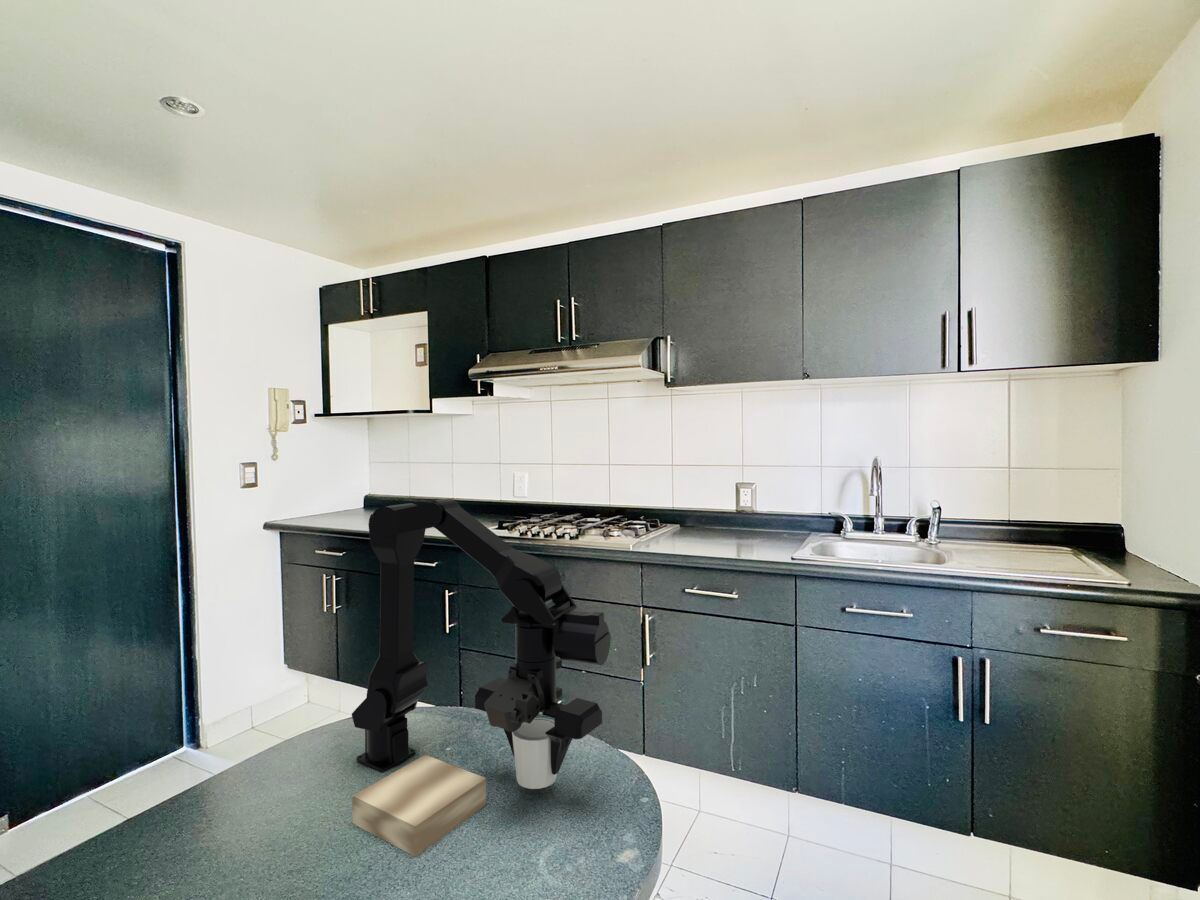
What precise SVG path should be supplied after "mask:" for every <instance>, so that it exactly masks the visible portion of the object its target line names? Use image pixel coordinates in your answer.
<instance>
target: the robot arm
mask: <svg viewBox="0 0 1200 900" xmlns="http://www.w3.org/2000/svg"><path fill="white" fill-rule="evenodd" d="M433 528H434V529H435V530H437V531H438V532H440V533H441V534H442V535H443V536H445V537H446V538H447V539H448V540H449V541H451V542H452V543H453V544H454V545H456V546H457V547H458V548H459V549H461V550H462V551H463V552H465V554H467V555H468V556H469V557H471V559H473V560H474V561H475V562H477V563H478V564H480V566H482V567H483V568H484V569H485V570H487V572H489V573H490V574H491V575H492V577H493V578H494V579H495V581H496V584H497V587H498V589H499V591H500V592H501V593H502V594H503V596H504V597H505V598H506V599H507V600H508V601H509V602H510V604H512V606H511V608H510V609H509V610H508V612H507V613H506V614H505V615H504V616H503V617H501V618H500V621H501V623H503V624H510V625H514V626H515V631H514V632H515V634H514V635H515V663H513V664H510V665H509V669H508V670H507V672H508V675H507V678H503V677H497V678H496V679H493V680H491V681H489V682H488V683H485V684H483V685H481V686H479V687H478V689H477V691H476V692H475V694H474V709H476V710H479V711H482V712H486V716H487V719H488V722H489V725H490V726H491V727H493V728H494V727H497V728H500V729H503V731H504V733H505V735H506V736H505V737H506V738H507V741H508V744H509V746H510V747H509V748H510V749H511V753H512V755H513V757H514V748H513V737H512V732H514V731H516V730H518V729H519V728H520V727H521V724H522V723H523V722H525V723H529V724H530V723H531V722H532V721H533V720H534V719H535V718H537V716H538V715H542V716H545V717H549V718H551V719H552V718H553V720H554V727H553V728H551V729H550V730H548V731H547V732H545V734H546V735H547V736H548V737H549V738H550V740H551V769H552V774H554V775H555V774H556V773H557V774H558V773H559V771H560V769H561V767H562V764H563V762H564V761H565V757H566V754H567V752H568V751H569V748H570V745H571V743H572V741H573V740H581V739H583V738H584V737H586V736H587V735H589V734H590V733H591V732H592V731H593V730H595V729H597V727H599V726H601V725H602V724H603V711H602V710H603V709H602V707H601V705H600V704H599V703H598V702H595V701H590V700H586V699H582V698H579V697H576V698H574V699H572V700H571V701H569V702H568V703H566V704H563V703H559V702H557V699H559V698H561V697H562V696H563V688H562V687H557V685H558V684H557V670H558V669H560V668H562V667H563V661H564V662H572V663H578V664H585V665H586V664H587V665H593V666H604V665H605V663H606V661H607V659H608V656H609V653H610V648H611V636H612V635H611V632H610V629H609V626H608V623H607V622H606V621H605V614H604V612H603V611H590V612H589V611H579V610H577V604H576V603H575V602H574V600H573V599H572V597H571V596H570V594H569V592H568V591H567V589H566V588H565V586H564V584H563V583H562V579H561V573H560V571H559V570H558V569H557V567H555V566H553V564H550V563H548V562H546V561H545V560H543V559H542V558H539V557H537V556H535V555H531V554H529V553H526V552H522V551H520V550H517V549H516V548H514V547H513V546H512V545H510V544H509V543H507V542H506V541H505V540H504V539H502V538H501V537H500V536H498V534H495V532H494V531H492V530H491V529H489V527H487V526H486V525H484V524H483V523H482V522H481V521H479V520H478V519H477V518H475V517H474V516H473V515H472V514H471V513H469V512H467V511H466V510H465V509H464V508H463V507H461V504H460V503H459V502H458V501H456V500H454V498H453V499H452V498H444V499H437V500H436V499H435V500H432V501H429V502H428V503H424V504H423V503H422V504H419V505H417V504H415V503H412V502H409V503H400V504H393V505H388V506H387V505H386V506H385V505H384V506H379V507H378V508H377V509H375V510H374V512H373V513H371V514H370V516H369V518H368V532H369V540H370V541H369V542H370V547H371V550H372V551H373V552H374V554H375V556H376V557H377V560H378V561H379V563H380V591H379V592H380V595H379V597H380V599H379V601H380V602H379V603H380V604H379V655H378V658H377V660H376V662H375V664H374V666H373V668H372V670H371V672H370V674H369V676H368V677H369V678H368V684H367V690H366V691H367V692H366V697H365V699H363V701H362V702H361V703H360V704H359V705H358V706H357V707H356V708H355V710H353V712H351V718H352V721H353V725H354V727H355V728H356V729H362V730H364V749H365V750H364V751H365V752H363V753H361V754H359V755H358V756H356V762H358V763H361V764H363V765H366V766H369V767H371V768H373V769H375V770H376V771H379V772H385V771H387V770H388V769H390V768H392V767H394V766H396V765H398V764H400V763H401V762H403V761H405V760H406V759H409V758H411V757H412V756H414V755H415V754H416V753H417V752H416V750H417V749H415V748H412V747H409V739H410V738H409V729H408V718H407V717H406V714H408V713H411V711H414V710H415V709H416V708H417V705H418V701H419V700H420V699H421V698H422V697H423V695H424V692H425V688H427V687H428V686H429V685H428V682H427V670H428V664H427V662H426V661H420V660H419V659H418V657H417V655H416V654H415V652H414V609H415V608H414V603H415V601H414V600H415V599H414V598H415V597H414V596H415V594H414V593H415V591H414V590H415V560H416V558H417V557H418V554H419V552H420V550H421V548H422V546H423V544H424V541H425V534H426V530H427V529H433ZM551 602H552V603H553V605H551V607H548V606H547V604H549V603H551ZM557 657H558V658H557Z"/></svg>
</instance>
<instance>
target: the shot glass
mask: <svg viewBox="0 0 1200 900" xmlns="http://www.w3.org/2000/svg"><path fill="white" fill-rule="evenodd" d="M553 727H554V719H552V718H548V717H547V718H546V717H535V719H534V720H533V721H532V722H531V723H530V724H529V723H525V722H523V723H522V724H521V727H520V728H519V729H518V730H516V731H514V732H512V737H513V748H514V756H513V758H514V764H515V766H514V767H515V776H516V777H515V778H516V782H517V784H518V785H519V786H521V787H523V788H525V789H530V790H539V789H544V788H547V787H550V786H552V785H553V784H554V783H555V782H556V781H557V775H558V773H556V774H555V775H554V774H552V769H551V740H550V738H549V737H548V736H547V735H546V734H545V732H547V731H548V730H550V729H551V728H553Z"/></svg>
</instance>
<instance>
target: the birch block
mask: <svg viewBox="0 0 1200 900" xmlns="http://www.w3.org/2000/svg"><path fill="white" fill-rule="evenodd" d="M351 796H352V797H351V798H352V799H351V801H352V824H353V825H355V826H356V827H358V828H360V829H362V830H364V831H366V832H368V833H370V834H371V835H373V836H376V837H377V838H379V839H381V840H383V841H385V842H387V843H389V844H391V845H392V846H394V847H396V848H399V849H400V850H402V851H404V852H406V853H408V854H409V855H411V856H413V857H417V856H419V855H420V854H422V853H423V852H424V851H426V850H427V849H428V848H429V847H431V846H433V845H434V844H435V843H436V842H438V841H439V840H441V839H442V838H443V837H444V836H446V835H447V834H448V833H450V832H451V831H453V830H455V828H457V827H458V826H460V825H461V824H463V823H464V822H465V821H466V820H468V819H469V818H470V817H472V816H473V815H474V814H476V813H477V812H478V811H479V810H481V809H483V808H484V807H485V806H487V778H486V777H483V776H482V775H479V774H476V773H473V772H470V771H468V770H466V769H463V768H461V767H458V766H455V765H453V764H451V763H448V762H445V761H442V760H440V759H437V758H435V757H432V756H429V755H428V754H423V755H422V756H421V757H418V758H417V759H415V760H413V761H411V762H409V763H408V764H406V765H404V766H402V767H400V768H399V769H396V771H394V772H392V773H390V774H388V775H387V776H385V777H383V778H381V779H380V780H378V781H376V782H373V784H370V785H369V786H367V787H365V788H363V789H361V790H360V791H358V792H356V793H355V794H353V795H351Z"/></svg>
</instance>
